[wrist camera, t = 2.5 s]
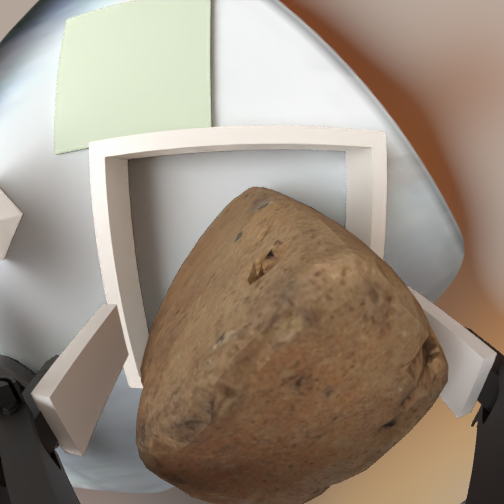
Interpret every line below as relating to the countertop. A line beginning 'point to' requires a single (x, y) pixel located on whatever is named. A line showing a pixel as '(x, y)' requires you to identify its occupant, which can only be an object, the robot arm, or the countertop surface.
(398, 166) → the countertop surface
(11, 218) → the milk
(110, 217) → the holder
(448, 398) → the robot arm
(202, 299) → the brown rough stone
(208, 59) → the mat
